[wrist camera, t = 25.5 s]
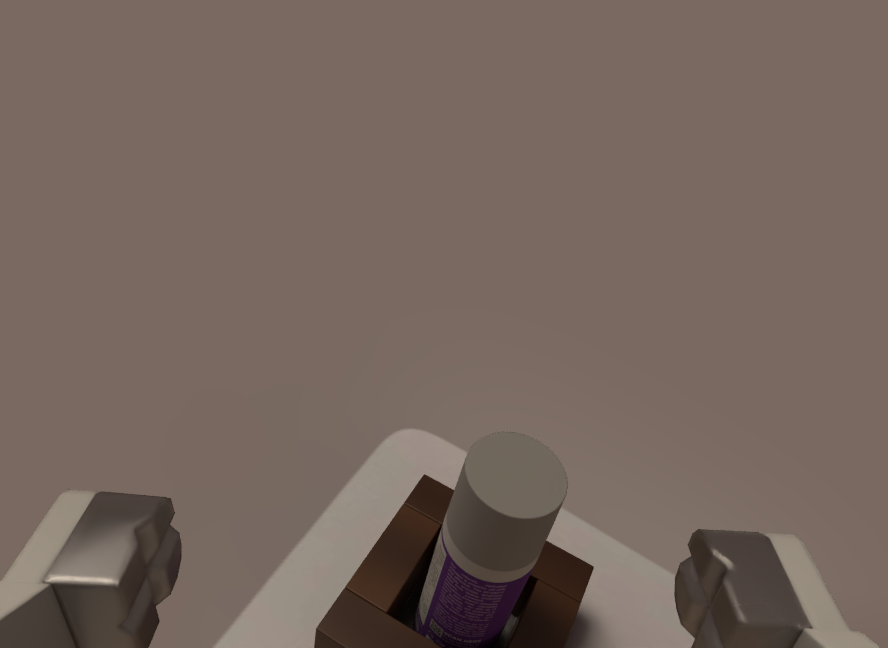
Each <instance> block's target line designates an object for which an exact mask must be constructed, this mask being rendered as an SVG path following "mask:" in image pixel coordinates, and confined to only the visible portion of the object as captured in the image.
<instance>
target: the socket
mask: <svg viewBox="0 0 888 648" xmlns="http://www.w3.org/2000/svg"><path fill="white" fill-rule="evenodd" d="M453 493H454V490H452V489H451V488H449V487H447V486H445V485H443V484H441V483H440V482H438V481H436V480H434V479H432V478H430V477H429V476H427V475H423V477H422V478H421V479H420V481H419V482H418V484H417V485H416V487H415V488H414V490H413V491H412V492H411V494H410V495H409V497H408V498H407V500H406V501H405V502H404V504H403V505H402V507H401V508H400V509H399V511H398V512H397V514H396V515H395V517H394V518H393V519H392V521H391V522H390V524H389V525H388V527H387V528H386V530H385V531H384V532H383V534H382V535H381V537H380V538H379V540H378V541H377V542H376V544H375V545H374V547H373V548H372V550H371V551H370V552H369V554H368V555H367V557H366V558H365V560H364V561H363V562H362V564H361V565H360V567H359V568H358V570H357V571H356V572H355V574H354V575H353V577H352V578H351V580H350V581H349V582H348V584H347V585H346V587H345V589H344V590H343V591H342V592H341V594H340V595H339V597H338V598H337V600H336V601H335V602H334V604H333V605H332V607H331V608H330V610H329V611H328V612H327V614H326V615H325V617H324V618H323V620H322V621H321V622H320V624H319V625H318V627H317V628H316V636H315V645H314V648H442V647H440V646H438V645H437V644H435V643H433V642H432V641H430V640H429V639H427V638H425V637H424V636H422V635H420V634H419V633H417V632H416V631H414V630H412V629H411V628H409V627H407V626H406V625H404V624H403V623H401V622H399V621H398V620H396V619H397V618H398V616H399V614H400V613H401V611H402V609H403V608H404V606H405V604H406V603H407V601H408V599H409V598H410V596H411V594H412V593H413V591H414V589H415V588H416V586H417V584H418V583H419V581H420V579H421V578H422V576H423V574H424V573H425V571H426V569H427V568H428V566H429V565H430V564H431V561H432V558H433V554H434V551H435V548H436V544H437V541H438V538H439V534H440V531H441V528H442V525H443V521H444V518H445V515H446V513H447V510H448V507H449V504H450V501H451V499H452V496H453ZM593 569H594V567H593V566H592V565H590V564H588V563H586V562H584V561H583V560H581V559H579V558H577V557H575V556H573V555H572V554H570V553H568V552H566V551H564V550H562V549H561V548H559V547H557V546H555V545H553V544H551V543H550V542H548V541H546V542H545V544H544V546H543V548H542V551H541V553H540V555H539V557H538V560H537V562H536V564H535V566H534V568H533V570H532V572H531V574H530V576H529V578H528V580H527V582H526V584H525V586H524V588H523V590H522V592H521V594H520V596H519V598H518V600H517V602H516V604H515V606H514V608H513V610H512V612H511V613H512V614H514V615H516V616H518V619H517V621H516V623H515V625H514V628H513V630H512V632H511V634H510V637H509V639H508V641H507V643H506V646H505V648H564V647H565V644H566V641H567V639H568V636H569V633H570V631H571V628H572V625H573V622H574V620H575V617H576V614H577V612H578V609H579V606H580V603H581V601H582V598H583V595H584V593H585V590H586V587H587V585H588V582H589V579H590V577H591V574H592V571H593Z"/></svg>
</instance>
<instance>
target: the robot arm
mask: <svg viewBox="0 0 888 648" xmlns="http://www.w3.org/2000/svg"><path fill="white" fill-rule="evenodd" d="M174 514H175V512H174V508H173V504H172V501H171V498H167V497H158V496H157V497H156V496H146V495H135V494H124V493H112V492H98V491H85V490H71V489H68V490H67V491H65V492H64V493H63V494H61V495H60V496H59V497H58V498H57V499H56V500H55V502H54V503H53V505H52V506H51V508H50V509H49V511H48V512H47V514H46V515H45V517H44V518H43V520H42V521H41V523H40V524H39V526H38V527H37V529H36V530H35V532H34V533H33V535H32V536H31V538H30V539H29V541H28V542H27V544H26V545H25V547H24V548H23V549H22V551H21V553H20V554H19V556H18V557H17V558H16V560H15V561H14V563H13V564H12V566H11V567H10V569H9V570H8V572H7V573H6V575H5V576H4V578H3V579H2V581H0V648H148V647H149V645H150V643H151V640H152V638H153V636H154V633H155V631H156V629H157V626H158V624H159V617H158V613H157V610H156V605H158V604H159V603H161V602H162V601H163V600H164V599H166V598H167V597H168V596H169V595H170V594H171V592H172V590H173V587H174V585H175V582H176V579H177V577H178V572H179V567H180V562H181V539H180V534H179V532H178V531H177V530H175V529H174V528H173V527H172V526H171V525H170V523H171V520H172V519H173V516H174ZM688 547H689V550H690V553H691V557H689V558H688V559H686V560H685V561H683V562H681V563H680V565H679V568H678V571H677V574H676V577H675V593H674V595H675V602H676V609H677V612H678V616H679V619H680V623H681V625H682V626H683V627H684V628H685V629H686V630H687V631H688V632H689V633H690V634H691V635H692V636H693V637H694V638H695V640H694V643H693V645H692V647H691V648H880V647H879V646H878V645H876V644H875V643H874V642H873V641H871V640H870V639H869V638H868V637H867V636H865V635H864V634H863V633H862V632H856V631H851V630H850V628H849V626H848V624H847V623H846V621H845V619H844V617H843V615H842V614H841V612H840V610H839V608H838V606H837V604H836V602H835V601H834V599H833V597H832V595H831V593H830V591H829V589H828V588H827V586H826V584H825V582H824V580H823V578H822V576H821V575H820V573H819V571H818V569H817V567H816V565H815V564H814V562H813V560H812V558H811V557H810V554H809V553H808V551H807V549H806V547H805V545H804V543H803V542H802V540H801V539H800V538H798V537H797V536H796V535H790V534H773V533H759V532H745V531H725V530H705V529H698V530H697V531H696V532H694V533H693V534H692V536H691V538H690V541H689V543H688Z"/></svg>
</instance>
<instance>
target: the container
mask: <svg viewBox="0 0 888 648" xmlns="http://www.w3.org/2000/svg"><path fill="white" fill-rule="evenodd" d="M567 488H568V482H567V476H566V472H565V470H564V467H563V465H562V463H561V462H560V460H559V459H558V457H557V456H556V455H555V454H554V453H553V452H552V451H551V450H550V449H549V448H548V447H547V446H545V445H544V444H542V443H541V442H540V441H538V440H536V439H534V438H532V437H529V436H526V435H524V434H519V433H514V432H497V433H492V434H490V435H487V436H485V437H483V438H481V439H479V440H478V441H477V442H475V443H474V444H473V446H472V447H471V448H470V450H469V452H468V454H467V456H466V459H465V462H464V465H463V467H462V470H461V473H460V476H459V479H458V482H457V484H456V487H455V490H454V493H453V496H452V499H451V501H450V504H449V507H448V510H447V513H446V515H445V518H444V521H443V525H442V528H441V531H440V534H439V538H438V541H437V544H436V548H435V551H434V554H433V558H432V561H431V564H430V567H429V571H428V574H427V577H426V581H425V584H424V587H423V591H422V594H421V597H420V601H419V604H418V607H417V610H416V614H415V617H414V621H413V627H412V630H414V631H416V632H417V633H419V634H420V635H422V636H424V637H425V638H427V639H429V640H430V641H432V642H433V643H435V644H437V645H438V646H440V647H442V648H494V646H495V644H496V642H497V640H498V638H499V636H500V634H501V632H502V630H503V628H504V626H505V624H506V622H507V620H508V618H509V616H510V614H511V612H512V610H513V608H514V606H515V604H516V602H517V600H518V598H519V596H520V594H521V592H522V590H523V588H524V586H525V584H526V582H527V580H528V578H529V576H530V574H531V572H532V570H533V568H534V566H535V564H536V562H537V560H538V557H539V555H540V553H541V551H542V548H543V546H544V544H545V542H546V539H547V537H548V535H549V533H550V530H551V528H552V526H553V524H554V521H555V519H556V517H557V515H558V512H559V510H560V508H561V506H562V503H563V501H564V499H565V497H566V493H567Z"/></svg>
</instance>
